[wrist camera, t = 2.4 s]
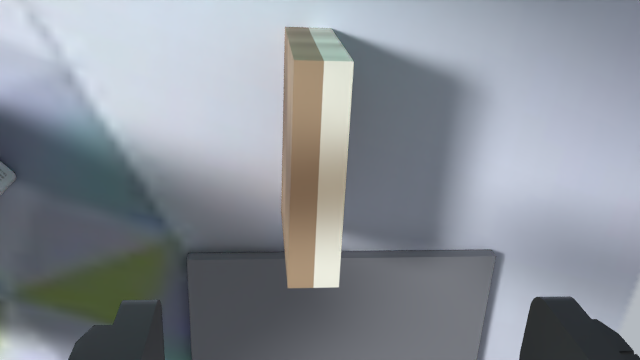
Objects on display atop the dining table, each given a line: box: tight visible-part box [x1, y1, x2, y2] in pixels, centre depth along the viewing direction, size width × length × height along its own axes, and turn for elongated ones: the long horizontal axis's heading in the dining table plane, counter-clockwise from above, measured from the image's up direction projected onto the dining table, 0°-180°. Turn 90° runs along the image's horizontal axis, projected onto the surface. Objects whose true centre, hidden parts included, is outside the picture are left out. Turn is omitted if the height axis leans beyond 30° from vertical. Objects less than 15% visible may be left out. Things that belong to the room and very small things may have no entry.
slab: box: [281, 27, 354, 288], centre depth 22 cm, size 8×2×6 cm, turn 177°
